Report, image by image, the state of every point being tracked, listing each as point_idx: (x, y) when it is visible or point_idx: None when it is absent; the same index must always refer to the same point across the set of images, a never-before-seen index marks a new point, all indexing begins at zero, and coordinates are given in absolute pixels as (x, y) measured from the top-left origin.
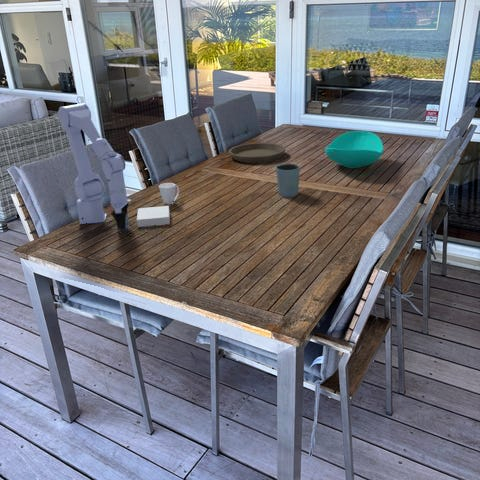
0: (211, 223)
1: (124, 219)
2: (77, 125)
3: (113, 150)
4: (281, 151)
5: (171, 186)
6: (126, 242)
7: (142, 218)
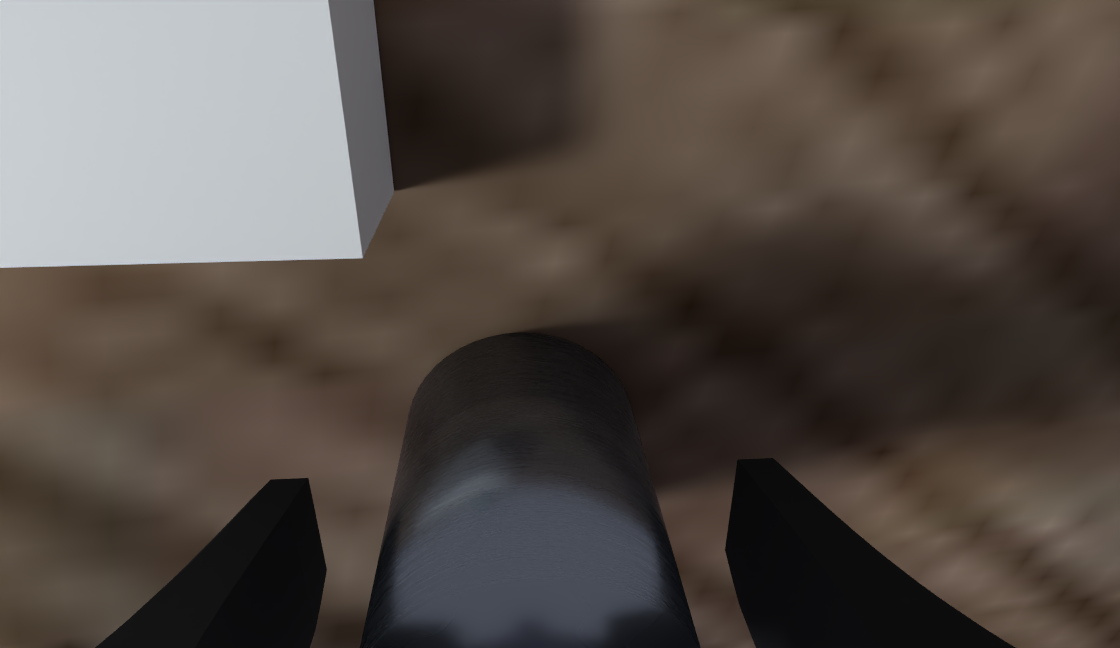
0: None
1: (960, 631)
2: None
3: None
4: None
5: None
6: (1061, 340)
7: (266, 91)
